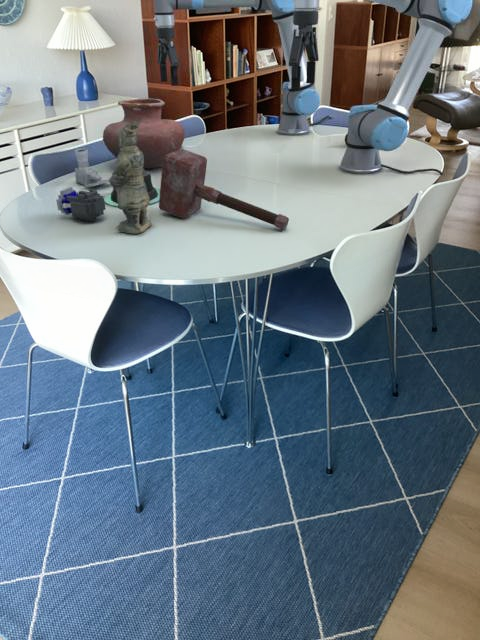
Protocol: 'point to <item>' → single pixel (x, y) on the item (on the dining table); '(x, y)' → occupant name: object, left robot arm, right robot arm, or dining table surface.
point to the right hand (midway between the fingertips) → (303, 86)
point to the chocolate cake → (152, 192)
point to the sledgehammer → (200, 190)
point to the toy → (81, 204)
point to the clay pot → (146, 131)
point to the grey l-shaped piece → (86, 170)
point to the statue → (131, 182)
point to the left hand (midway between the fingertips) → (169, 83)
